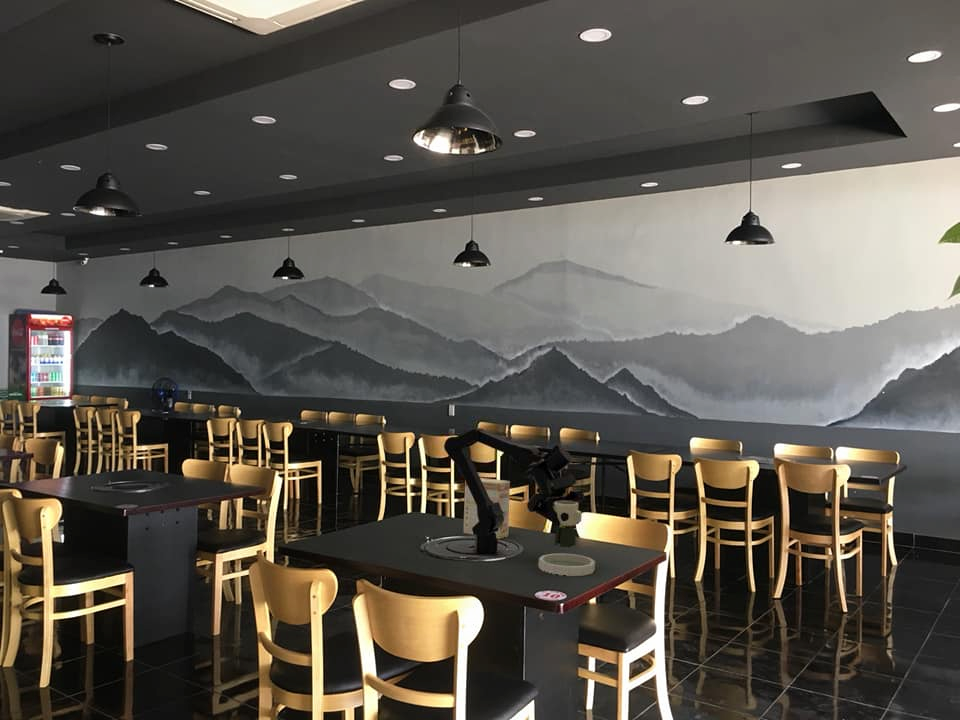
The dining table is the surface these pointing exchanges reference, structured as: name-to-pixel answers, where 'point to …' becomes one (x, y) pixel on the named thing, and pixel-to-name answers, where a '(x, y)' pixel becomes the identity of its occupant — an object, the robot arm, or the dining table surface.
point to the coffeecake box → (496, 493)
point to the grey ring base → (567, 564)
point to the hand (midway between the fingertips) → (568, 524)
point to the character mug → (566, 522)
